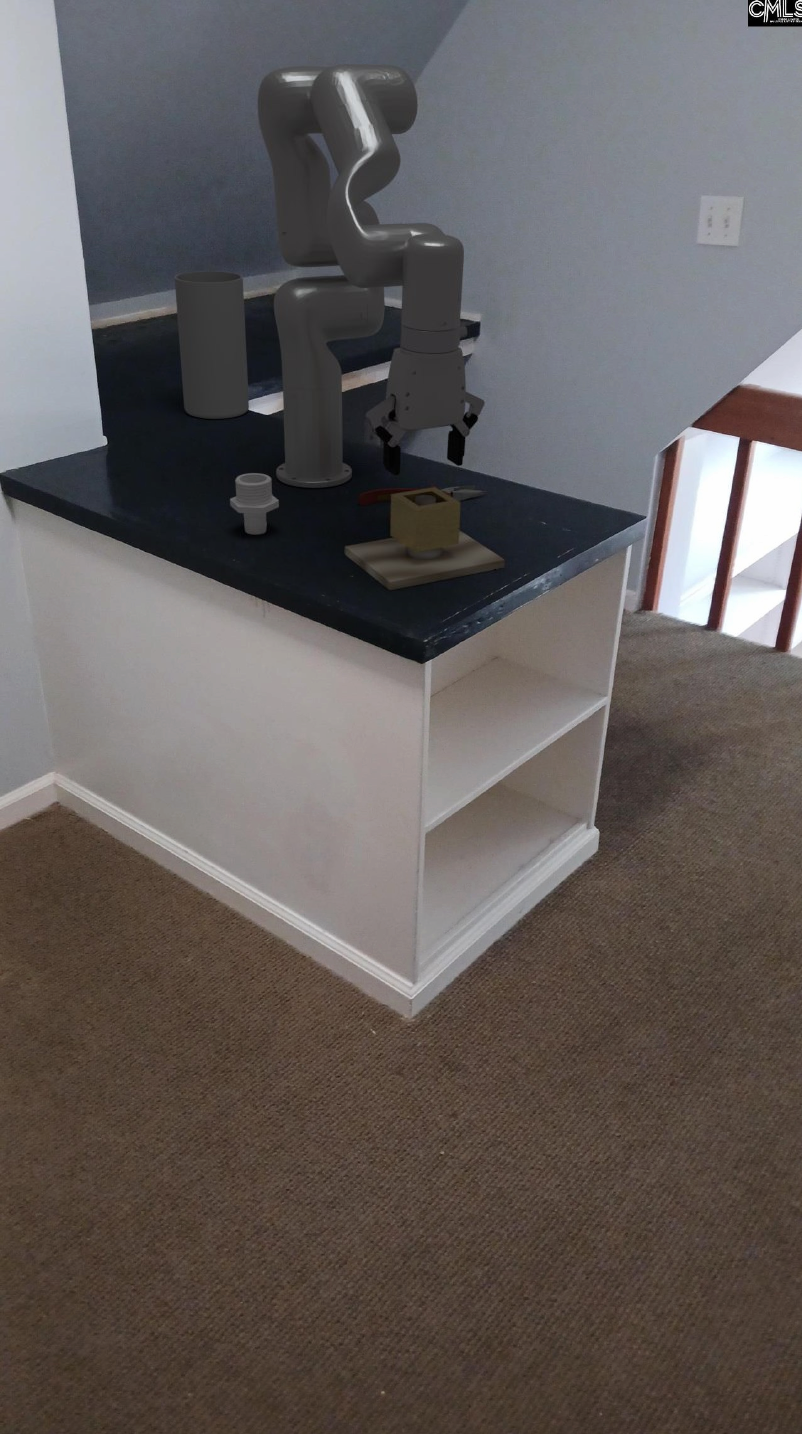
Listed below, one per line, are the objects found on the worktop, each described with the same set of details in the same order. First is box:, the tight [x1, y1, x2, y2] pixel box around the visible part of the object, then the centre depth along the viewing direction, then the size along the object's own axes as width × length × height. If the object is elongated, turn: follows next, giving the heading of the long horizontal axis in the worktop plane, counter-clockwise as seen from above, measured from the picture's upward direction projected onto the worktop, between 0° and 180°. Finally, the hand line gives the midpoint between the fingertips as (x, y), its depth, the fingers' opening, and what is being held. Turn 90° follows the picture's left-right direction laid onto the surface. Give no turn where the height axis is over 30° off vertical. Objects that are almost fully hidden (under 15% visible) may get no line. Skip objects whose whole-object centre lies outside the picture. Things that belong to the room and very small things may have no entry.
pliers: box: [358, 484, 487, 525], centre depth 185 cm, size 12×20×3 cm, turn 121°
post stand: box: [344, 495, 506, 591], centre depth 162 cm, size 14×18×9 cm
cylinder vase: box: [174, 270, 250, 420], centre depth 223 cm, size 12×12×25 cm
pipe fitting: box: [229, 472, 280, 535], centre depth 172 cm, size 6×7×8 cm
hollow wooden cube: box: [390, 486, 461, 552], centre depth 162 cm, size 7×7×6 cm
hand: (423, 467), depth 159 cm, fingers open, 9 cm apart
